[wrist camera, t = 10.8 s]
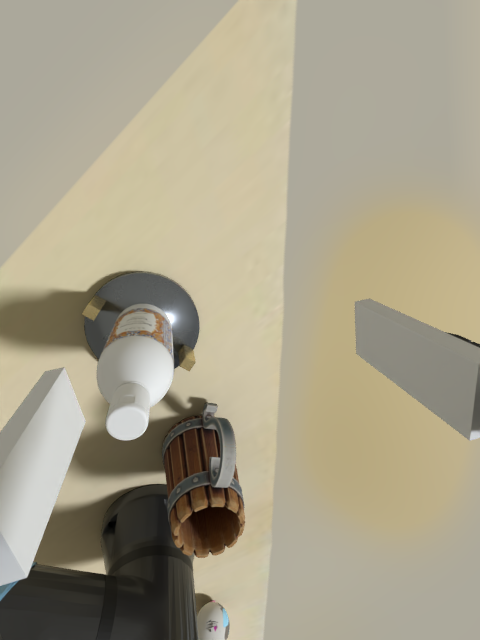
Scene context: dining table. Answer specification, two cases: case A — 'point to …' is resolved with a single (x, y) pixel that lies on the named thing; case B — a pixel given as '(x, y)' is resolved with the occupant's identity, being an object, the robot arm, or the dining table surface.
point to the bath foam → (135, 368)
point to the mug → (203, 484)
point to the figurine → (212, 622)
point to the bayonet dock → (144, 291)
